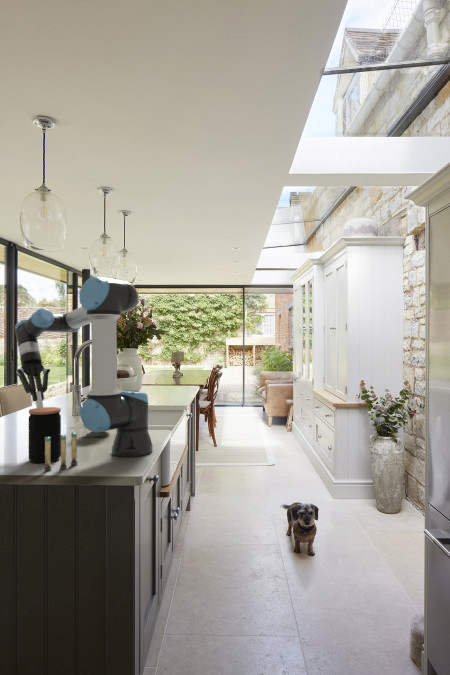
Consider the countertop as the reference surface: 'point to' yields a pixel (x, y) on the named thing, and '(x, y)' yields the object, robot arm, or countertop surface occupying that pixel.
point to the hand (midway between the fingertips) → (40, 408)
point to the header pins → (63, 452)
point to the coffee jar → (44, 433)
